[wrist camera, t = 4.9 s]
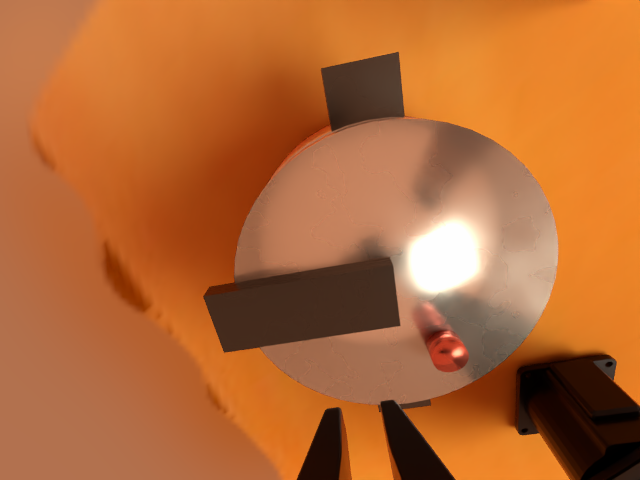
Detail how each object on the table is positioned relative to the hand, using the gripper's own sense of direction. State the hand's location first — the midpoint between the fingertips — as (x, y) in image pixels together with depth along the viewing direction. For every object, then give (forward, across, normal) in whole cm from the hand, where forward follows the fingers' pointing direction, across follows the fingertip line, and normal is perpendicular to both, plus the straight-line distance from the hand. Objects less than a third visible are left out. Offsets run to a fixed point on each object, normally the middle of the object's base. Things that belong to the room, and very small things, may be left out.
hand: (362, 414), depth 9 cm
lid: (+7, -2, 0) cm, 7 cm away
